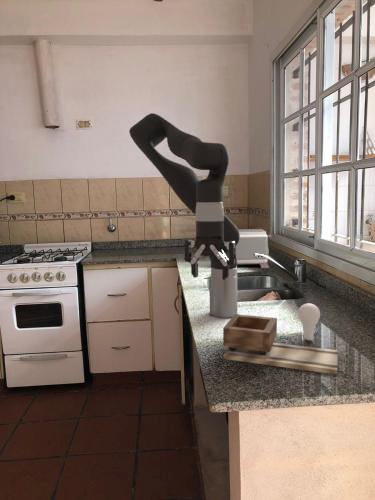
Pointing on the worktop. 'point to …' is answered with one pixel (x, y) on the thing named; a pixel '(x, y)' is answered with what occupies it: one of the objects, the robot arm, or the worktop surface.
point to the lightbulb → (308, 319)
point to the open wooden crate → (250, 333)
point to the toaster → (252, 247)
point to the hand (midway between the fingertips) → (210, 278)
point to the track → (290, 357)
